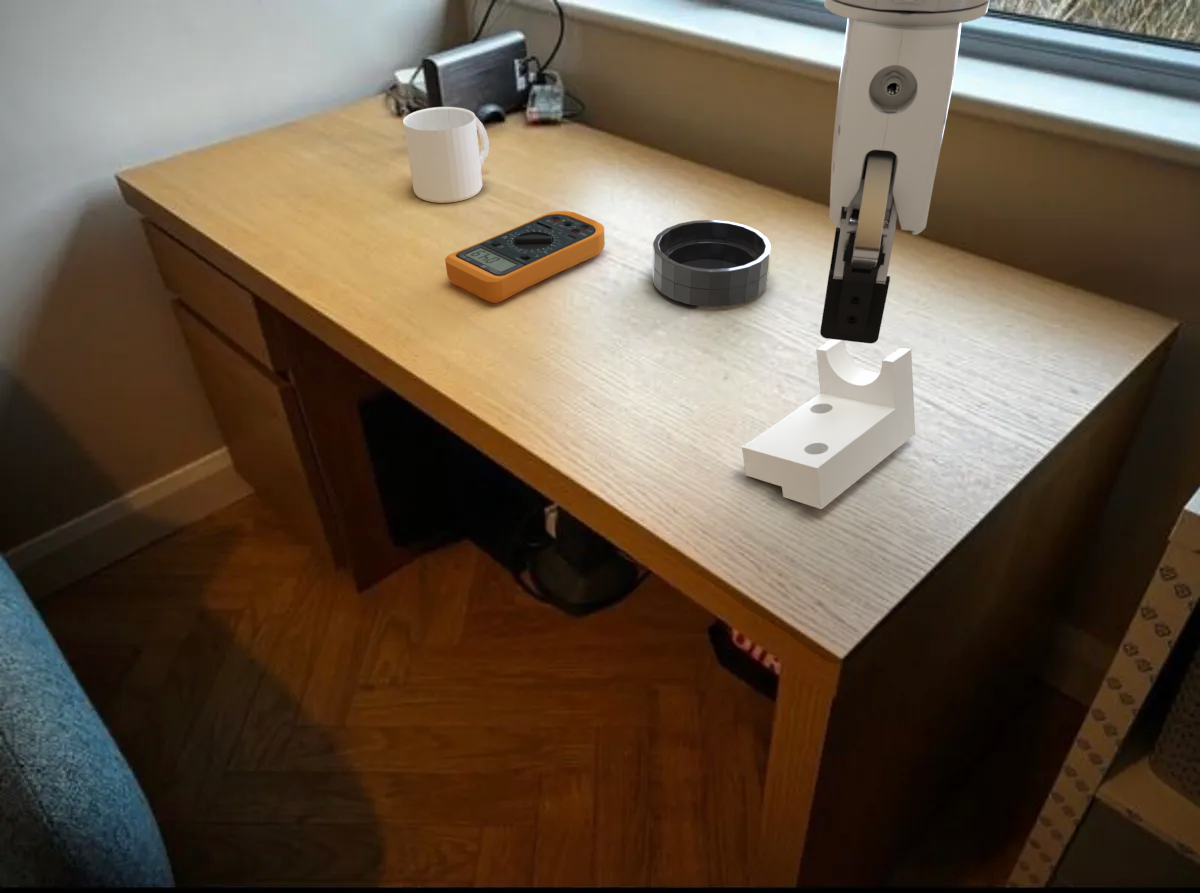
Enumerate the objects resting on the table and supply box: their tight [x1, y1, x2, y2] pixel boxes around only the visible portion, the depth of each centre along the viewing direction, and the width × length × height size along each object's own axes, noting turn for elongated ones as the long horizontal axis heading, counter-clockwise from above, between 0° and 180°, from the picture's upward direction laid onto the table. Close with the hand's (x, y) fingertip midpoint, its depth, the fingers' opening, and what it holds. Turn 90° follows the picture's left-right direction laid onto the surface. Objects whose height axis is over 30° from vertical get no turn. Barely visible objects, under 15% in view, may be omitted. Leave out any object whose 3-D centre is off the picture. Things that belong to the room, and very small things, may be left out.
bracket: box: [741, 339, 916, 510], centre depth 71 cm, size 13×7×8 cm, turn 134°
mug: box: [402, 106, 490, 204], centre depth 117 cm, size 12×9×9 cm
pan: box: [651, 219, 772, 308], centre depth 96 cm, size 12×12×4 cm
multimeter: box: [444, 210, 606, 304], centre depth 100 cm, size 9×18×3 cm, turn 136°
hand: (851, 311), depth 53 cm, fingers open, 4 cm apart
